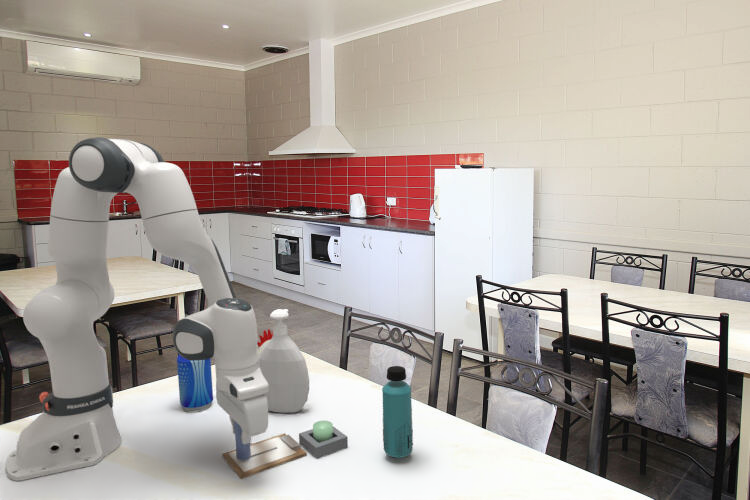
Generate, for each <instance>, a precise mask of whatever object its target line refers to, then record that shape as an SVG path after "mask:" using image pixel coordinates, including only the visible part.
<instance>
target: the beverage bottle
mask: <svg viewBox="0 0 750 500" xmlns="http://www.w3.org/2000/svg"><path fill="white" fill-rule="evenodd" d="M386 379H387V380H388V382H386V384H384V385H383V386H382V388H381V391H382V392H381V393H382V442H383V451H384V453H385V454H386V455H387V456H389V457H392V458H405V457H408V456H410V455H411V454H412V452H413V446H414V439H413V438H414V436H413V433H414V430H413V412H412V411H413V405H412V386H410V384H408V383H407V382H406V381H405V380H406V379H407V373H406V368H405V367H403V366H400V365H392V366H390V367H388V368H387V369H386Z"/></svg>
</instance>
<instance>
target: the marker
mask: <svg viewBox="0 0 750 500" xmlns="http://www.w3.org/2000/svg"><path fill="white" fill-rule="evenodd" d="M234 428H235V434H234V441H235V449H236V458H237V459H239V460H245V459H248V458H249V457H250V456H251V450H250V444H251V442H250V443H248V444H243V443H242V442H241V440H240V439H241V438H240V434H242V429H241V427H240V426H239V425H238V424H237V423H236V422H235V421H234Z"/></svg>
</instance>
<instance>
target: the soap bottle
mask: <svg viewBox="0 0 750 500" xmlns="http://www.w3.org/2000/svg"><path fill="white" fill-rule="evenodd" d="M289 316H290V314H289V309H287V308H286V309H285V308H284V309H282V308H281V309H280V308H278V309H274V310H273V311H272V312H271V313H270V315H269V319H273V320H276V321H277V322H276V323H275V324H273V326H272V331H273V337H272V339H271V340H270V341H269V342H268V343H267V344H266V346H265V347H264V349H263V350H262V352H261V354H260V355H259V367H260V369H261V372H262V374H263V376H264V378H265V379H266V381H267V382H268V385H269V392H268V393H265V395H266V397H267V401H268V412H273V413H283V414H285V413H286V414H293V413H294V414H296V413H298V412H300V411H301V410H302V409H303V408H304V406H305V405H306V403H307V402H308V397H309V393H310V376H309V371H308V370H309V369H308V366H307V362H306V359H305V356H304V355H303V354H302V352H301V350H300V348H299V347H298V345H297V344H296V342H294V341H293V340H292V339H291V337H290V336H289V335H288V325H286V323H283V320H284V319H287V318H289Z"/></svg>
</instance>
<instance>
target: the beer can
mask: <svg viewBox="0 0 750 500" xmlns="http://www.w3.org/2000/svg"><path fill="white" fill-rule="evenodd" d="M211 360H212V359H207V360H198V361H190V360H187V359H185V358H183V357H182V356H180V355H179V354H178V356H177V358H176V365H177V366H176V367H177V381H178V391H179V392H178V393H179V403H180V404H179V405H180V407H182V408H183V410H184V411H186V412H199V411H200V412H201V411H203V410H206V409H208V408H209V407H210V406H211V403H213V401H214V393H213V392H214V391H213V377H212V361H211Z"/></svg>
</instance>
